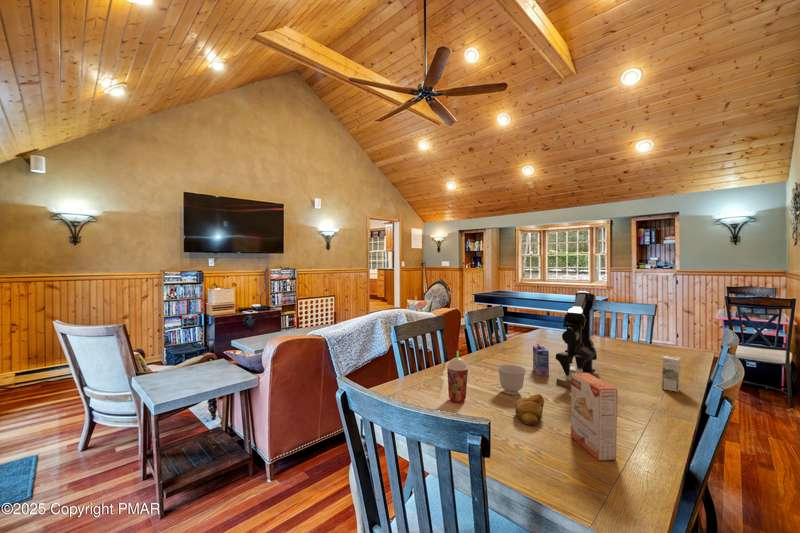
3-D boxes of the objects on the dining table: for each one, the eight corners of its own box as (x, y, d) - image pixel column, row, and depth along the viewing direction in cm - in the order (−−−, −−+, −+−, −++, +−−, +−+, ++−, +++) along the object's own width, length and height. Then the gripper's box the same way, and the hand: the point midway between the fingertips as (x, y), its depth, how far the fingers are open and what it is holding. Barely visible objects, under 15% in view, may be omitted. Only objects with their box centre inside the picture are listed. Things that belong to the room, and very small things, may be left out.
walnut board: (569, 380, 168) (569, 374, 168) (590, 387, 159) (590, 380, 159) (556, 384, 162) (556, 378, 162) (577, 392, 154) (577, 385, 154)
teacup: (528, 387, 157) (528, 365, 157) (524, 399, 144) (525, 375, 143) (500, 383, 162) (500, 361, 162) (494, 394, 149) (494, 371, 149)
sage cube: (571, 377, 164) (572, 366, 164) (582, 380, 160) (582, 369, 160) (565, 379, 162) (565, 368, 161) (576, 382, 157) (576, 371, 157)
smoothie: (469, 398, 145) (469, 349, 145) (466, 406, 137) (466, 354, 137) (448, 395, 148) (449, 347, 147) (444, 403, 140) (445, 352, 139)
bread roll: (539, 429, 119) (540, 406, 119) (510, 423, 124) (510, 400, 124) (544, 415, 130) (545, 393, 130) (517, 409, 135) (517, 388, 135)
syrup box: (679, 389, 156) (680, 356, 156) (678, 393, 152) (679, 359, 151) (663, 386, 160) (664, 354, 160) (661, 389, 156) (662, 356, 155)
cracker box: (569, 436, 114) (570, 372, 114) (587, 436, 115) (588, 372, 114) (596, 461, 100) (598, 388, 100) (617, 461, 101) (618, 388, 100)
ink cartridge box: (531, 369, 183) (532, 341, 183) (543, 369, 183) (543, 341, 182) (537, 375, 173) (537, 346, 173) (549, 376, 173) (549, 346, 173)
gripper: (578, 346, 149) (578, 383, 149) (603, 340, 158) (603, 375, 159) (555, 340, 158) (554, 375, 159) (580, 336, 168) (579, 368, 168)
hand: (573, 373), depth 161 cm, fingers open, 9 cm apart
